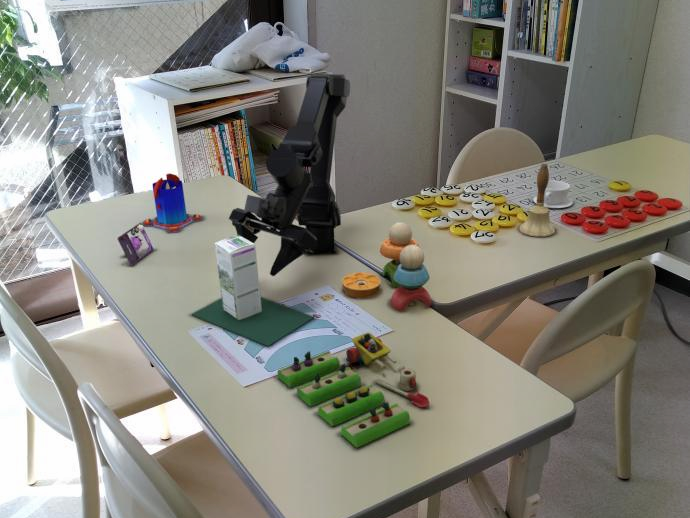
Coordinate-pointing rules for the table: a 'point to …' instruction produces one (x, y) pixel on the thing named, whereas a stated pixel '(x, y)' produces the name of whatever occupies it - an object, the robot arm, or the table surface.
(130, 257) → the game card
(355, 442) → the toy garden set
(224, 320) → the green mat
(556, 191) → the teacup
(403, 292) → the wooden stacking toy
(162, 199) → the fantasy tower
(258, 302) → the syrup box
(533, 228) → the hand bell
